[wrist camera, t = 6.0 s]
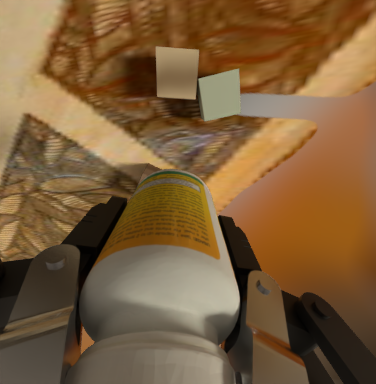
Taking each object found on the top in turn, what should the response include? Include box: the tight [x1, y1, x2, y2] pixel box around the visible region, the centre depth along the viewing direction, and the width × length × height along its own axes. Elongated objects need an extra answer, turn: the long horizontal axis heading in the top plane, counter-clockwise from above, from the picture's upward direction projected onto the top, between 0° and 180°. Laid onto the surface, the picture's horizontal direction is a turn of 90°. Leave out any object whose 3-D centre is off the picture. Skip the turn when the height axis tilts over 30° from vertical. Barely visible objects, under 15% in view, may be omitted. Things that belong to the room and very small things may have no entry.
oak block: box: [156, 47, 199, 100], centre depth 22 cm, size 5×5×5 cm
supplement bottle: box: [64, 169, 240, 384], centre depth 7 cm, size 5×5×10 cm
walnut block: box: [137, 163, 162, 187], centre depth 30 cm, size 5×5×5 cm
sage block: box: [197, 69, 241, 121], centre depth 24 cm, size 5×5×5 cm
